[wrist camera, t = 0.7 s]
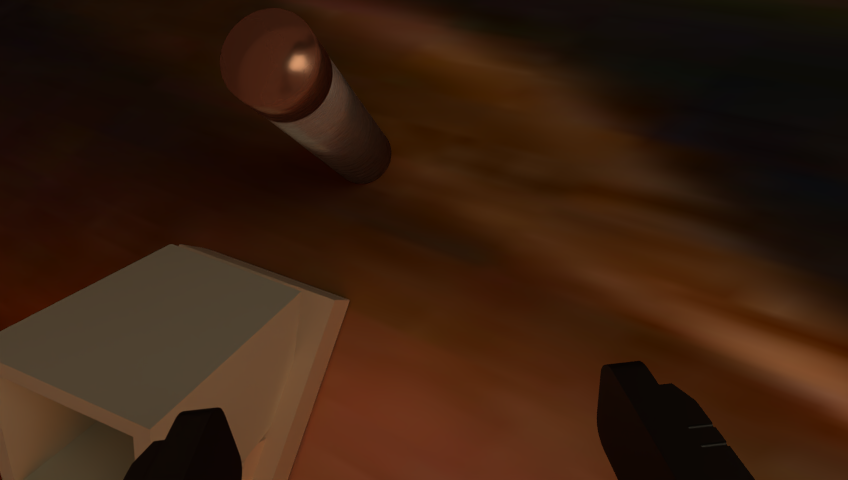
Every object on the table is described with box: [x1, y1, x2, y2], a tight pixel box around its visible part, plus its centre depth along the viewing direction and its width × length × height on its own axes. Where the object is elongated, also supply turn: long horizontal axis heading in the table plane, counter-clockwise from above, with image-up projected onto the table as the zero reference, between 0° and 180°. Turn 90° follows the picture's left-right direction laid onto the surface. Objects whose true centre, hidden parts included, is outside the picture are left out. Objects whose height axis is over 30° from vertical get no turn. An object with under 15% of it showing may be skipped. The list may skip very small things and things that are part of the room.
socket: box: [0, 244, 350, 480], centre depth 26 cm, size 13×11×15 cm
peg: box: [220, 8, 391, 184], centre depth 27 cm, size 4×4×14 cm
